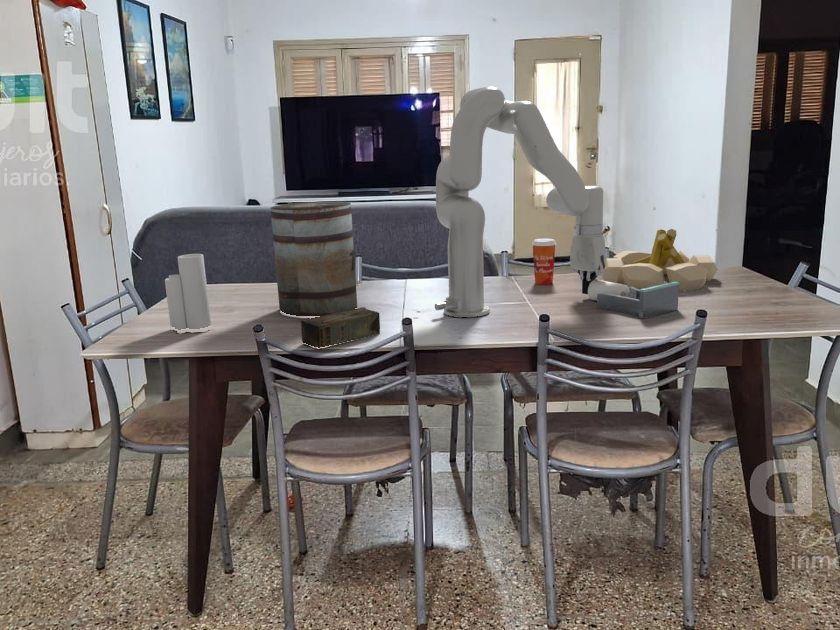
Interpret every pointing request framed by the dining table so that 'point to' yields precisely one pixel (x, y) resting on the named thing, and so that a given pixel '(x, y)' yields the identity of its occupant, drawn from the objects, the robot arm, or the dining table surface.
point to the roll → (607, 289)
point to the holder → (643, 300)
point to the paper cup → (543, 260)
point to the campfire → (660, 266)
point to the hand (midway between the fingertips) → (587, 293)
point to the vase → (188, 294)
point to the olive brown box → (340, 327)
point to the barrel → (314, 258)
